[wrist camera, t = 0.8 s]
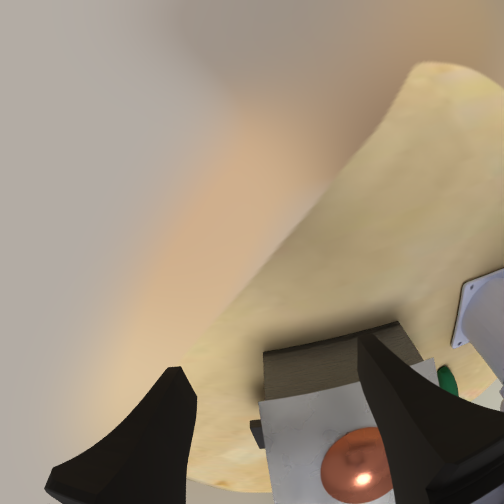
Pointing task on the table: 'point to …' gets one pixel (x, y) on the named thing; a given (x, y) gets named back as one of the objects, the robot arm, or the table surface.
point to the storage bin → (324, 365)
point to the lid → (328, 446)
